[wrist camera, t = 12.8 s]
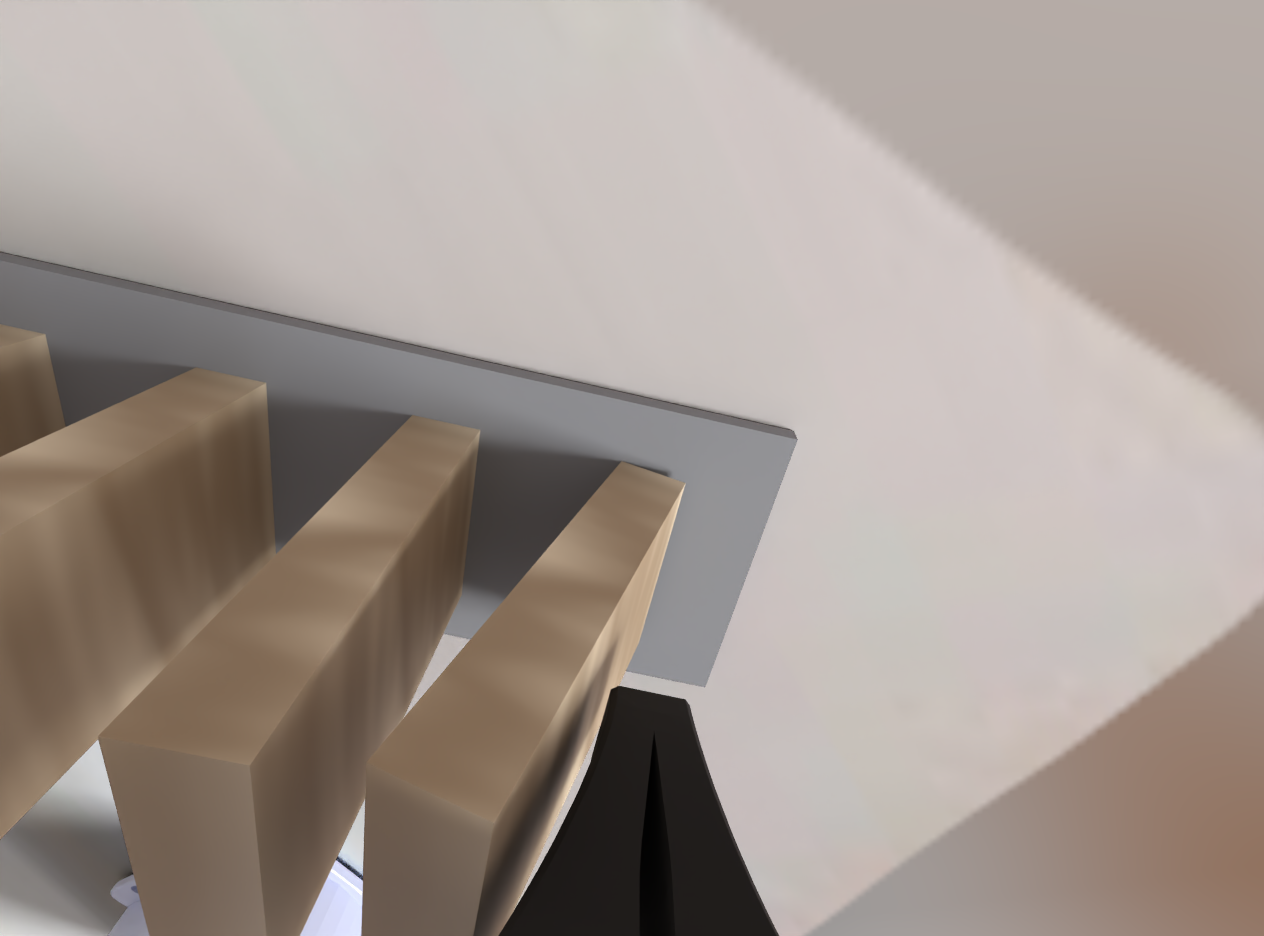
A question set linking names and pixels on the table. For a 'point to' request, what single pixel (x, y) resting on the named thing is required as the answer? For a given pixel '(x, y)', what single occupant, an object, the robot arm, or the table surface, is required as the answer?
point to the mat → (444, 391)
